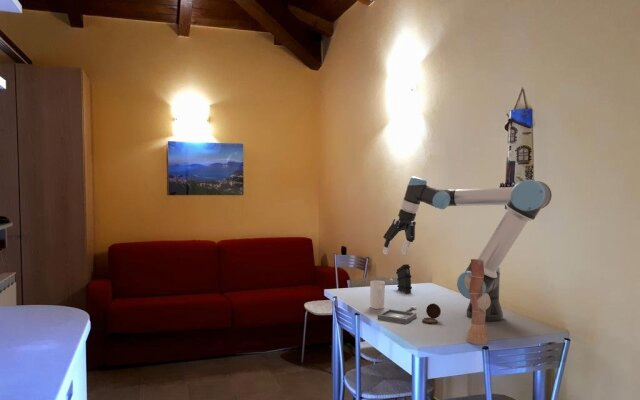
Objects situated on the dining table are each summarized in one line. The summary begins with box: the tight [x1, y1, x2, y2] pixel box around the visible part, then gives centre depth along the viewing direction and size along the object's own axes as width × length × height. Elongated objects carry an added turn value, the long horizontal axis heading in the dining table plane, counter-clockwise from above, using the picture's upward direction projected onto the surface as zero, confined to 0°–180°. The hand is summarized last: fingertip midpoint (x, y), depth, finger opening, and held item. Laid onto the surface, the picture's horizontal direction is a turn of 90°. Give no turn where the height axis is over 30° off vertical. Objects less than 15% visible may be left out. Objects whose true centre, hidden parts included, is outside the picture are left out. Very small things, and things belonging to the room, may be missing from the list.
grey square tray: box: [377, 308, 418, 325], centre depth 206 cm, size 13×13×2 cm
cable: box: [405, 305, 417, 312], centre depth 218 cm, size 2×14×1 cm, turn 149°
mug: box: [369, 280, 386, 310], centre depth 224 cm, size 10×7×12 cm, turn 16°
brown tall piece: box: [464, 258, 491, 346], centre depth 176 cm, size 10×7×30 cm
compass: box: [421, 302, 442, 325], centre depth 200 cm, size 8×8×7 cm
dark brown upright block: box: [395, 264, 413, 294], centre depth 264 cm, size 4×13×15 cm, turn 14°
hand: (394, 253), depth 222 cm, fingers open, 13 cm apart
